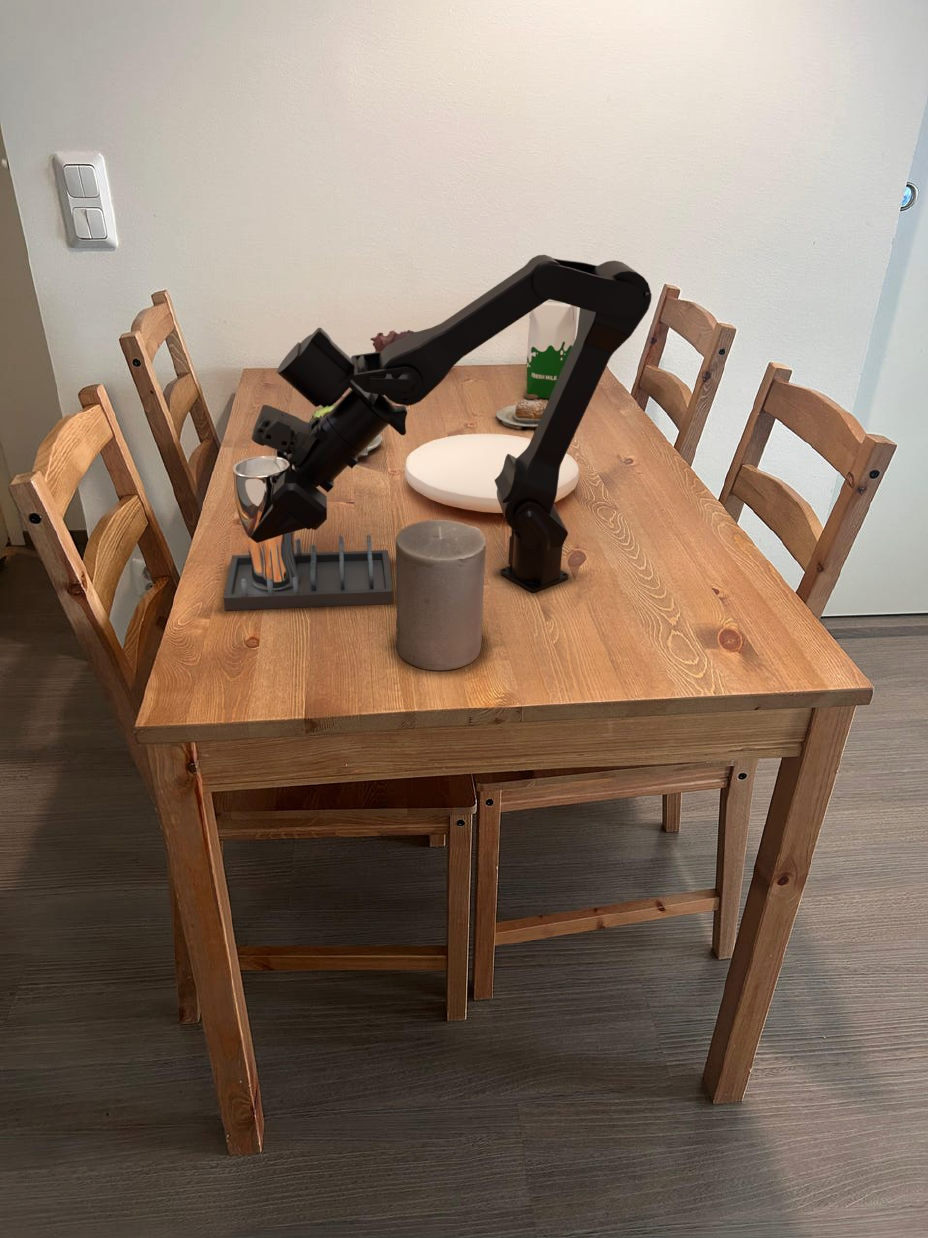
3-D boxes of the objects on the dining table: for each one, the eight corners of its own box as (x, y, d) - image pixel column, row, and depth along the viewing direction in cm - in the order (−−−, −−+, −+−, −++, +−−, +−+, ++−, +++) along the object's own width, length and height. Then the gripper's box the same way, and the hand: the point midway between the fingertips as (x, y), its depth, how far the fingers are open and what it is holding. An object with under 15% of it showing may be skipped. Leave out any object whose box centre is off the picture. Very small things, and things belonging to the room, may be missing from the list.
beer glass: (236, 579, 116) (218, 466, 108) (282, 560, 120) (268, 450, 112) (269, 598, 111) (253, 482, 104) (315, 578, 116) (303, 465, 108)
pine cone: (441, 364, 201) (458, 330, 193) (444, 398, 196) (462, 365, 188) (362, 345, 195) (376, 309, 187) (363, 380, 190) (378, 345, 182)
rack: (388, 561, 122) (387, 527, 120) (392, 603, 113) (392, 567, 110) (233, 567, 120) (229, 532, 117) (225, 610, 111) (220, 573, 108)
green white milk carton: (573, 389, 188) (582, 286, 177) (564, 402, 180) (573, 295, 170) (531, 384, 190) (537, 282, 179) (520, 397, 182) (526, 291, 172)
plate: (429, 421, 155) (588, 436, 151) (427, 458, 158) (583, 475, 154) (383, 465, 130) (572, 485, 126) (382, 509, 133) (567, 530, 129)
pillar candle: (378, 646, 105) (375, 525, 97) (441, 616, 111) (443, 500, 103) (437, 682, 99) (438, 557, 91) (500, 648, 105) (506, 528, 97)
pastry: (558, 434, 165) (560, 409, 163) (491, 429, 167) (492, 404, 164) (563, 412, 176) (565, 388, 173) (500, 408, 177) (501, 384, 175)
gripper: (294, 360, 111) (210, 450, 116) (287, 412, 95) (191, 513, 100) (362, 423, 116) (280, 506, 120) (367, 481, 100) (272, 575, 105)
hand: (256, 522), depth 111 cm, fingers open, 9 cm apart
